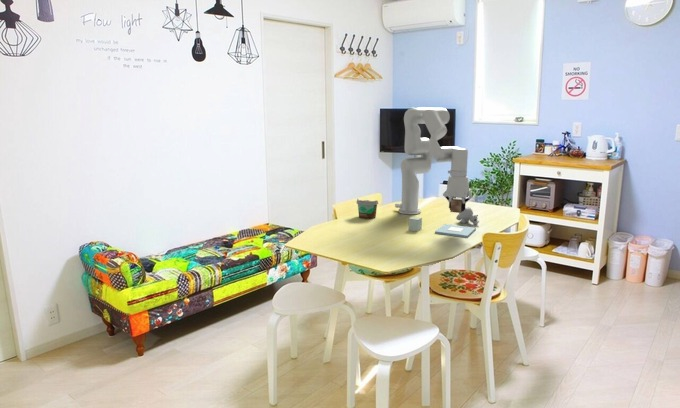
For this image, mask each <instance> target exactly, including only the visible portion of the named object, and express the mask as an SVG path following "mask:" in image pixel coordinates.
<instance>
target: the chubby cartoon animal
mask: <svg viewBox="0 0 680 408" xmlns="http://www.w3.org/2000/svg"><path fill="white" fill-rule="evenodd" d="M478 216H479V215H478V214H474V211H473V209H472V208H471V207H469V206H465V210H464V211H463V212H461V213H458V214H457V215H456V217H455V219H456V220H457V221H460V223H461V224H464V225H465V224H466V223H467V224H468V223H472V224H473V225H474V226H478V224H479V223H480V220H478Z"/></svg>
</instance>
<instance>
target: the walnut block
mask: <svg viewBox="0 0 680 408" xmlns="http://www.w3.org/2000/svg"><path fill="white" fill-rule="evenodd" d="M461 206H462V198H457V197H453V199H452V200H451V210H449V211H450V213H455V214H456V213H458V214H459V213H461V212H462V211H461Z"/></svg>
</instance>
